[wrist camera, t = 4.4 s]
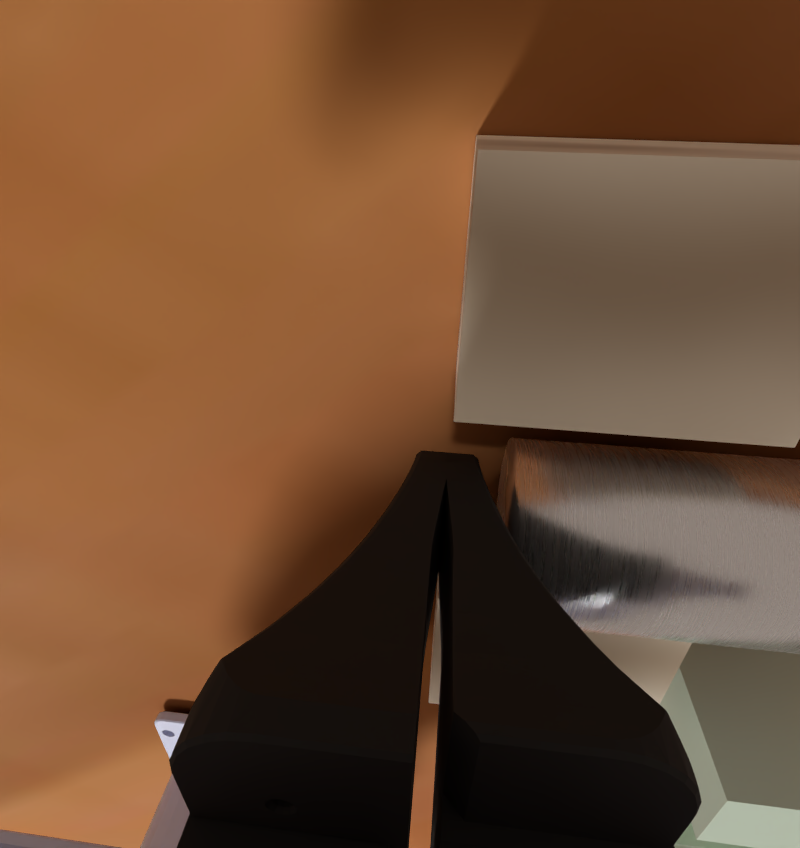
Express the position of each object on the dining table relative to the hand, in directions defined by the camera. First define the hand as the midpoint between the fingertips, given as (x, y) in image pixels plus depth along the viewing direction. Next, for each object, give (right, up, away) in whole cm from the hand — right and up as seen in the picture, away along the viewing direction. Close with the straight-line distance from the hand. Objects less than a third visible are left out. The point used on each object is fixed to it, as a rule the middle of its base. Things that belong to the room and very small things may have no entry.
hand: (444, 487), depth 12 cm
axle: (+6, 0, +1) cm, 6 cm away
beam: (+3, +1, +1) cm, 3 cm away
